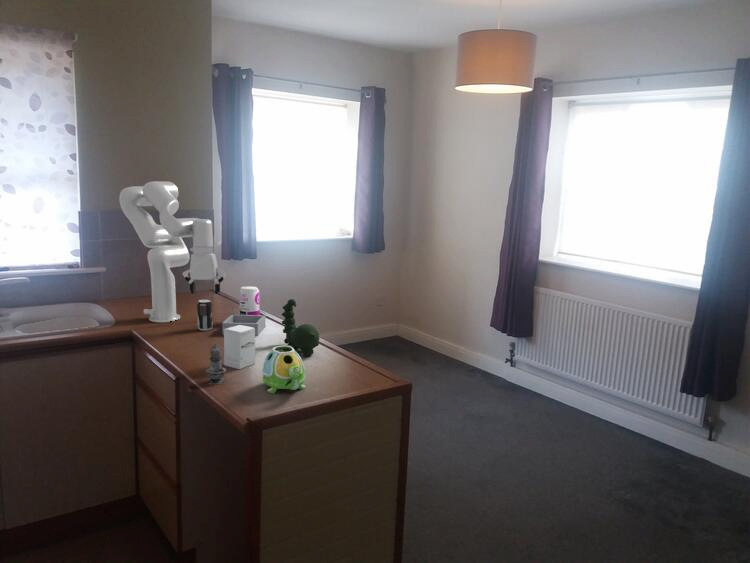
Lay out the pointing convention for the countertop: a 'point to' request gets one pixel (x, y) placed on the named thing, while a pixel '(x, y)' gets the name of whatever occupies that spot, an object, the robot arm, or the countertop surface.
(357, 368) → the countertop surface
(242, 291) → the supplement can
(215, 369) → the grey tower figurine
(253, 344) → the supplement box
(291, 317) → the toy figurine
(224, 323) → the tray
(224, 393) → the countertop surface
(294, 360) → the turtle holder
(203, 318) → the beverage can
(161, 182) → the robot arm
